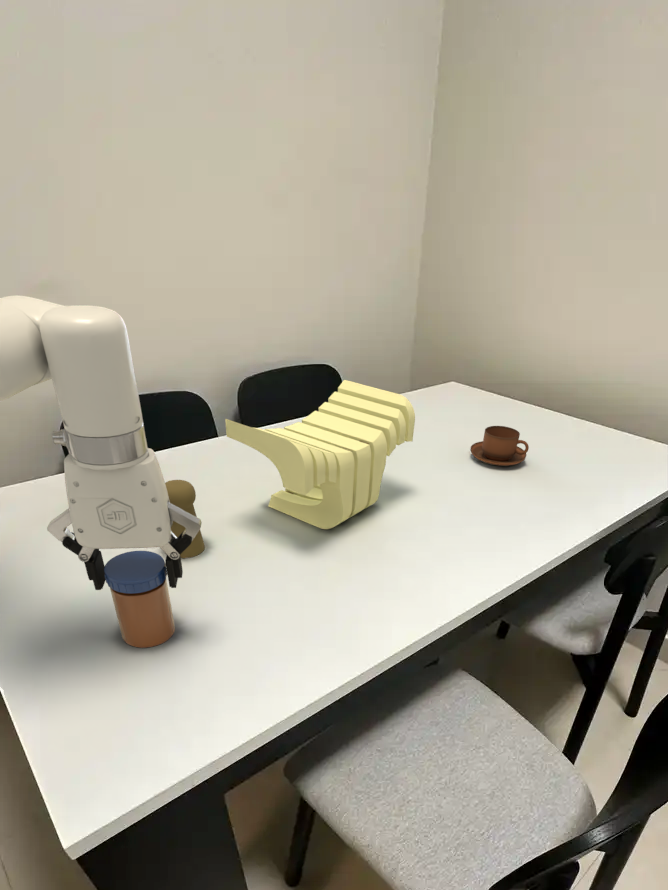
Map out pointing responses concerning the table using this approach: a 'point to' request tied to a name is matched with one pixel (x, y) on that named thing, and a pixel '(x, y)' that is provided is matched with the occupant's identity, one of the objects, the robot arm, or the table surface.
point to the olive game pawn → (184, 498)
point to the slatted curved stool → (333, 452)
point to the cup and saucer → (500, 447)
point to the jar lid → (135, 572)
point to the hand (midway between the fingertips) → (138, 582)
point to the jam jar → (145, 616)
